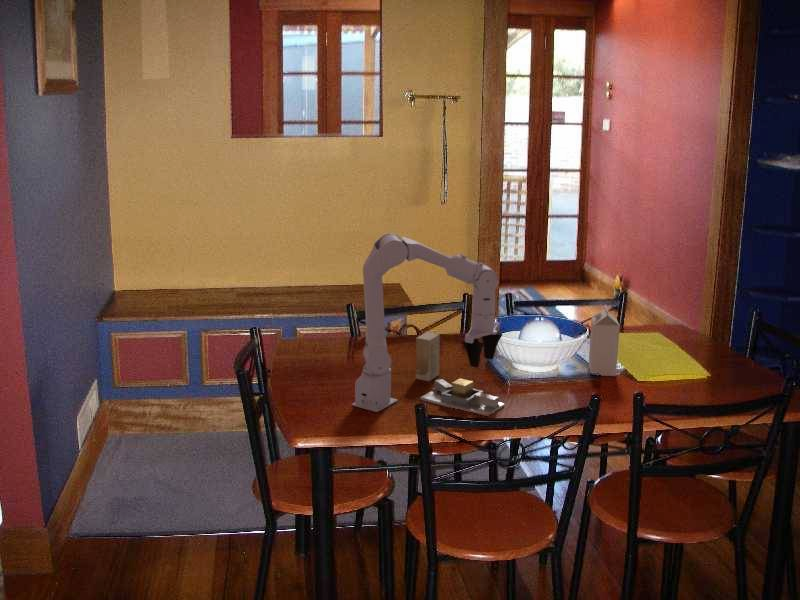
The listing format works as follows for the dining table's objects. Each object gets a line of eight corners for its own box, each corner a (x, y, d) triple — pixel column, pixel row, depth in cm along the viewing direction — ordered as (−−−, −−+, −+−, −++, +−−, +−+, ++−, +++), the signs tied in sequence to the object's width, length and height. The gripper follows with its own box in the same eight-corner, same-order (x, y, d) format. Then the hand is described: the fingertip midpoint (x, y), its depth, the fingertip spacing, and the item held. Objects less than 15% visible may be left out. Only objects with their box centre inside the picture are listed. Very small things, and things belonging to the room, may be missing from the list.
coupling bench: (487, 417, 235) (487, 403, 234) (420, 399, 246) (420, 386, 245) (504, 406, 242) (505, 393, 241) (438, 389, 253) (438, 377, 252)
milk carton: (613, 368, 271) (617, 305, 266) (616, 376, 264) (621, 312, 259) (588, 367, 272) (592, 304, 267) (590, 375, 265) (594, 311, 260)
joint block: (464, 404, 241) (465, 385, 240) (451, 400, 243) (452, 382, 242) (472, 399, 244) (473, 381, 243) (459, 396, 247) (460, 378, 245)
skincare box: (426, 372, 266) (426, 331, 263) (439, 375, 264) (440, 333, 261) (414, 379, 261) (415, 337, 258) (428, 382, 259) (429, 339, 256)
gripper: (482, 321, 234) (481, 373, 237) (510, 308, 245) (508, 358, 249) (458, 316, 237) (457, 367, 241) (487, 304, 249) (485, 352, 253)
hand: (481, 362), depth 245 cm, fingers open, 7 cm apart
